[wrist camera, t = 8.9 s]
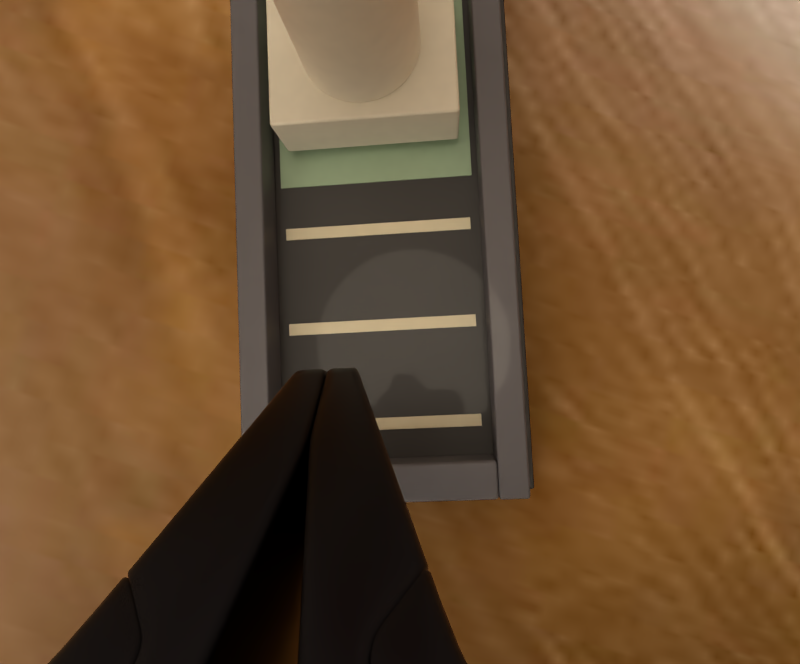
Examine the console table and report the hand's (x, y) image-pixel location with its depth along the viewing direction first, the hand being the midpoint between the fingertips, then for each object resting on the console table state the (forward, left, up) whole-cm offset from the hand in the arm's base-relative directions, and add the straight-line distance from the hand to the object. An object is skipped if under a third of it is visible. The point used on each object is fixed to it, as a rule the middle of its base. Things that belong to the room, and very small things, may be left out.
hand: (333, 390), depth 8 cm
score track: (+3, -3, -7) cm, 9 cm away
